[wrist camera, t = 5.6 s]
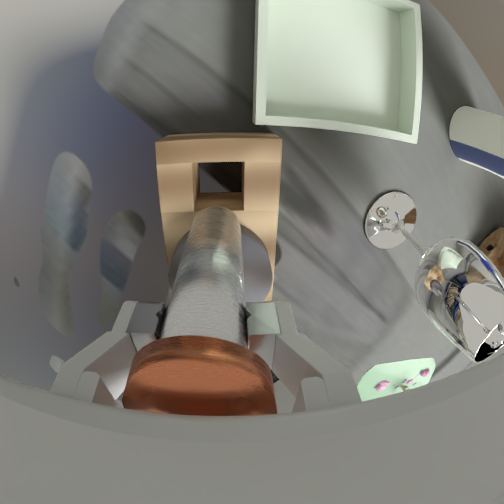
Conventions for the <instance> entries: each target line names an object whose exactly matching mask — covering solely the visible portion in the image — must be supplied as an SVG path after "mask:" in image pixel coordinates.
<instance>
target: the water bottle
mask: <svg viewBox="0 0 504 504" xmlns="http://www.w3.org/2000/svg"><path fill="white" fill-rule="evenodd" d="M449 137H450V143H451V147H452V149H453V152H454V153H455V155H456V156H457V157H458V158H459V159H460V160H461V161H464V162H467V163H469V164H472V165H475V166H478V167H480V168H483V169H485V170H487V171H490V172H492V173H494V174H496V175H498V176H500V177H502V178H504V117H503V116H499V115H496V114H492V113H489V112H486V111H482V110H479V109H476V108H473V107H469V106H462V107H460V108H458V109H457V110H456V111H455V113H454V114H453V116H452V119H451V122H450V128H449Z"/></svg>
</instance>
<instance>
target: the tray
mask: <svg viewBox="0 0 504 504" xmlns="http://www.w3.org/2000/svg"><path fill="white" fill-rule="evenodd" d="M422 70H423V51H422V26H421V13H420V5H419V4H417V3H414V2H412V1H410V0H256V1H255V38H254V76H253V116H252V122H253V123H254V124H255V125H277V126H295V127H308V128H319V129H329V130H338V131H346V132H353V133H360V134H367V135H373V136H379V137H384V138H390V139H395V140H400V141H405V142H410V143H414V144H417V138H418V130H419V121H420V110H421V96H422Z"/></svg>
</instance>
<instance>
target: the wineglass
mask: <svg viewBox="0 0 504 504" xmlns="http://www.w3.org/2000/svg"><path fill="white" fill-rule="evenodd" d="M415 222H416V207H415V204H414V202H413V200H412V199H411V198H410V197H409V196H408V195H407V194H405V193H402V192H389V193H387V194H384V195H383V196H381V197H380V198H378V199H377V200H376V201H375V202H374V203H373V205H372V206H371V208H370V209H369V211H368V213H367V216H366V220H365V232H366V236H367V238H368V240H369V241H370V242H371V244H373V245H374V246H376V247H378V248H382V249H389V248H393V247H395V246H397V245H399V244H401V243H402V242H403V241H405V240H406V239H407V240H408V241H409V242H411V243H412V244H413V245H414V246H415V247H416V249H417V250H418V251H419V252H420V253H421V255H422V258H421V260H420V262H419V264H418V266H417V269H416V273H415V293H416V297H417V301H418V304H419V305H420V307H421V309H422V311H423V312H424V313H425V315H426V316H427V317H428V318H429V320H430V321H431V322H432V323H433V324H434V325H435V327H436V328H437V329H438V330H439V331H440V332H441V333H442V334H444V335H445V336H446V337H447V338H448V339H449V340H450V341H451V342H452V343H453V344H454V345H455V346H456V347H457V348H459V349H460V350H461V351H462V352H463V353H464V354H465V355H466V356H468V357H469V358H470V359H471V360H472V361H473V362H475V363H480V362H483V361H484V360H486V359H488V358H489V357H490V356H492V355H493V354H494V353H496V352H497V351H498V350H499V349H500V348H501V347H502V346H503V345H504V278H503V276H502V275H501V273H500V272H499V270H498V269H497V267H496V266H495V265H494V263H493V262H492V261H491V259H490V258H489V257H488V256H487V255H486V254H485V253H484V252H483V251H482V250H481V249H480V248H479V247H477V246H476V245H475V244H473V243H472V242H470V241H469V240H465V239H461V238H448V239H443V240H441V241H439V242H437V243H435V244H434V245H433V246H431V247H430V248H429V249H427V248H426V247H424V246H423V245H422V244H421V243H420V242H419V241H417V240H416V239H415V238H414V237H413V236H412V235H411V232H412V230H413V228H414V225H415Z"/></svg>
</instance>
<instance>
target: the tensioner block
mask: <svg viewBox="0 0 504 504" xmlns="http://www.w3.org/2000/svg"><path fill="white" fill-rule="evenodd" d="M155 150H156V164H157V178H158V189H159V199H160V208H161V217H162V225H163V233H164V240H165V247H166V254H167V260H168V267H169V283H170V287H171V289H173V285H174V281H175V278H176V274H177V271H178V268H179V264H180V261H181V257H182V254H183V251H184V247H185V244H186V241H187V238H188V235H189V231H190V228H191V225H192V222H193V219H194V217H195V216H196V215H197V213H198V212H200V211H201V210H202V209H204V208H207V207H210V206H222V207H225V208H227V209H229V210H231V211H232V212H233V213H234V214H235V215H236V216H237V218H238V219H239V222H240V226H241V242H242V258H243V274H244V290H245V303H248V302H263V301H271V300H272V289H273V276H274V263H275V250H276V237H277V222H278V207H279V191H280V174H281V156H282V139H281V138H280V137H278V136H277V135H275V134H274V133H259V132H218V133H192V134H176V135H167V136H166V137H164V138H162V139H160V140H158V141H156V142H155ZM200 162H242V192H221V193H200V183H199V163H200Z"/></svg>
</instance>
